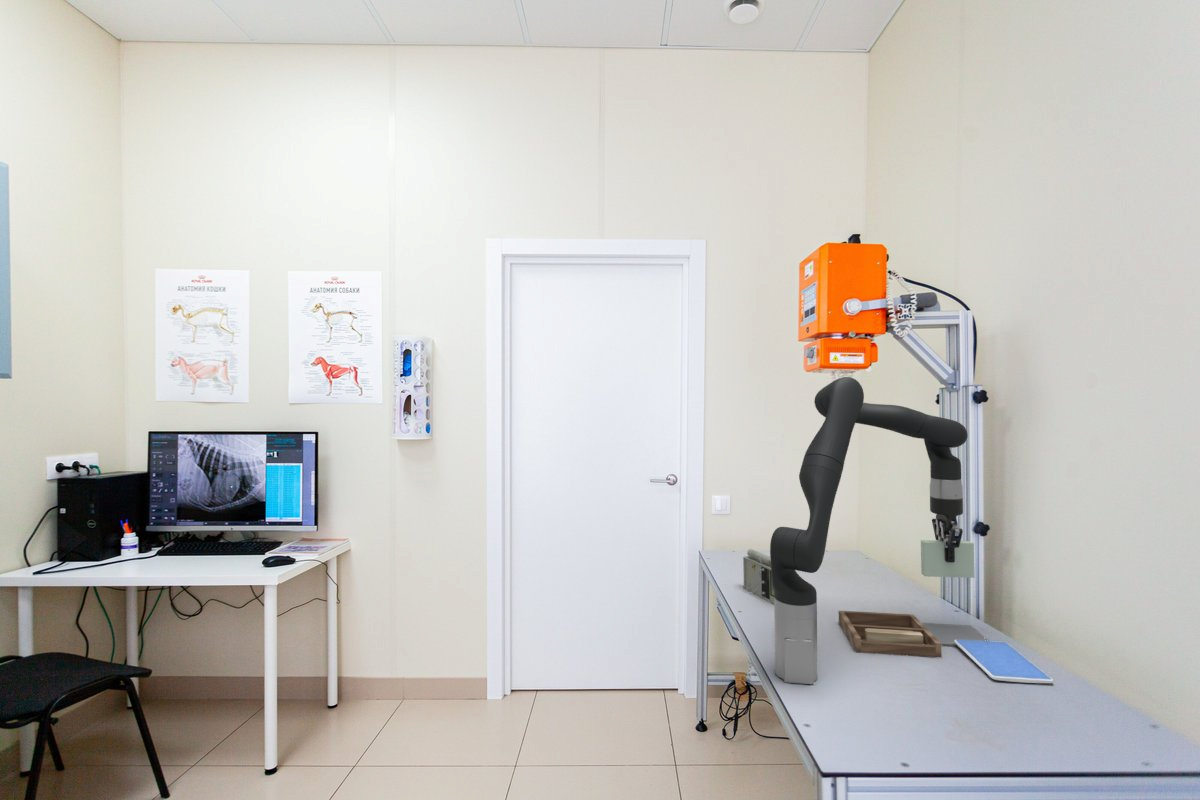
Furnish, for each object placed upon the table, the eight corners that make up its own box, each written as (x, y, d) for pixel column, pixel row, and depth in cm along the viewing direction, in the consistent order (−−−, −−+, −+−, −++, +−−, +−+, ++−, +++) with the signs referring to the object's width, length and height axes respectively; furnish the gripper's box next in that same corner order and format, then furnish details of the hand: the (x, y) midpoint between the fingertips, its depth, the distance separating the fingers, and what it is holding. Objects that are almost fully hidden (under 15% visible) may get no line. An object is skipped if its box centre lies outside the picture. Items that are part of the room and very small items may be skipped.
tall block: (974, 577, 149) (973, 543, 149) (924, 576, 152) (924, 542, 151) (970, 574, 152) (969, 541, 152) (921, 573, 154) (920, 540, 154)
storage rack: (941, 657, 138) (941, 643, 138) (855, 652, 142) (855, 638, 142) (913, 627, 157) (913, 614, 157) (838, 622, 160) (838, 610, 160)
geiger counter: (739, 547, 190) (789, 567, 167) (755, 545, 192) (807, 564, 169) (740, 589, 190) (790, 615, 167) (756, 586, 192) (807, 611, 169)
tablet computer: (952, 643, 145) (952, 637, 145) (1006, 645, 143) (1006, 640, 143) (992, 682, 126) (992, 676, 126) (1055, 686, 124) (1055, 680, 124)
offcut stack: (923, 653, 141) (923, 635, 141) (867, 649, 143) (866, 631, 143) (917, 646, 145) (917, 628, 145) (862, 642, 147) (862, 625, 147)
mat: (996, 649, 142) (996, 647, 142) (935, 645, 145) (935, 643, 145) (970, 627, 156) (970, 625, 156) (915, 624, 159) (915, 622, 159)
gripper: (974, 500, 144) (975, 568, 144) (950, 491, 158) (951, 553, 158) (941, 500, 145) (943, 567, 145) (920, 491, 159) (921, 553, 159)
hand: (947, 560), depth 152 cm, fingers closed on tall block, 2 cm apart
